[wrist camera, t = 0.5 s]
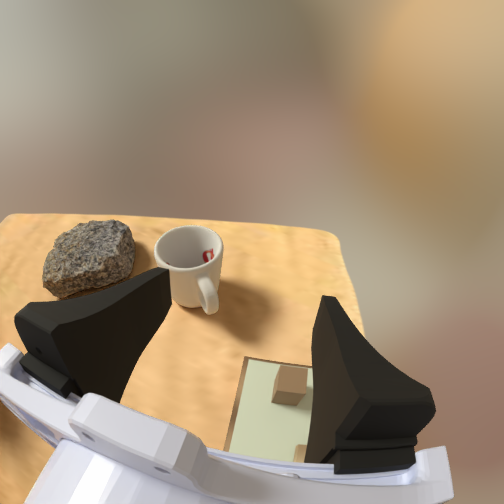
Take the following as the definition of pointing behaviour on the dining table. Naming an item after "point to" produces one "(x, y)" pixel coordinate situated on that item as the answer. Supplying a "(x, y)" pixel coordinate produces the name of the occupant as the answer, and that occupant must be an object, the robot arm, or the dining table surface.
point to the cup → (192, 265)
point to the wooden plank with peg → (300, 453)
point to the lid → (273, 411)
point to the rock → (89, 257)
